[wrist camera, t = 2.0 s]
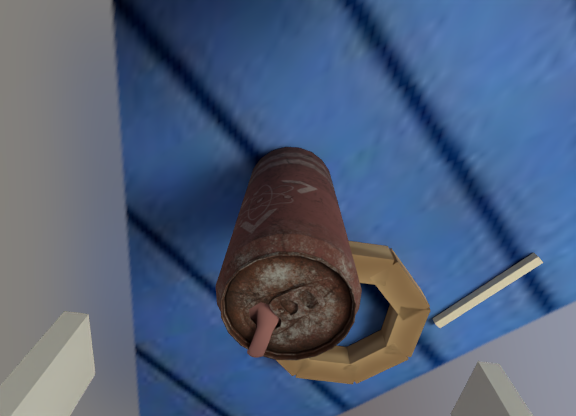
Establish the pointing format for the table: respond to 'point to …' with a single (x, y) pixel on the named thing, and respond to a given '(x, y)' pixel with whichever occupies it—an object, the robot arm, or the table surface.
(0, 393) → the robot arm
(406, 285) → the wooden ring
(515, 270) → the straight beige square stick
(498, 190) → the table surface
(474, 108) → the table surface
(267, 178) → the can
